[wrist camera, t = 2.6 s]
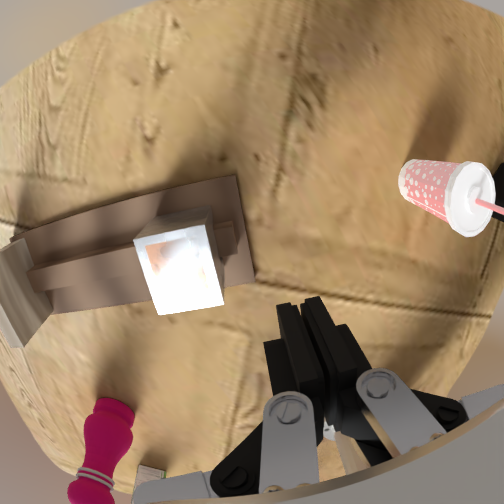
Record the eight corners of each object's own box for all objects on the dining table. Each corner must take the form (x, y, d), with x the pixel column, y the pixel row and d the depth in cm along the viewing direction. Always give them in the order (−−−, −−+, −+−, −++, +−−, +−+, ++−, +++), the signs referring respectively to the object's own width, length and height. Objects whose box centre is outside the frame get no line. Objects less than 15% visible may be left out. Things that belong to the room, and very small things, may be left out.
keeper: (210, 204, 24) (204, 224, 18) (224, 269, 26) (224, 304, 20) (154, 216, 24) (133, 239, 18) (172, 278, 26) (158, 315, 20)
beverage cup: (443, 189, 26) (541, 228, 13) (407, 221, 27) (502, 278, 14) (422, 141, 24) (530, 157, 11) (382, 171, 25) (489, 205, 12)
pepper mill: (85, 392, 33) (44, 505, 14) (129, 397, 33) (97, 524, 15) (103, 421, 35) (75, 524, 17) (144, 425, 36) (124, 538, 17)
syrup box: (162, 479, 44) (157, 534, 30) (135, 472, 43) (127, 527, 29) (166, 470, 42) (161, 531, 29) (137, 463, 41) (128, 523, 27)
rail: (235, 174, 24) (237, 187, 17) (254, 278, 28) (264, 326, 20) (13, 236, 24) (-31, 263, 17) (44, 312, 28) (12, 351, 20)
